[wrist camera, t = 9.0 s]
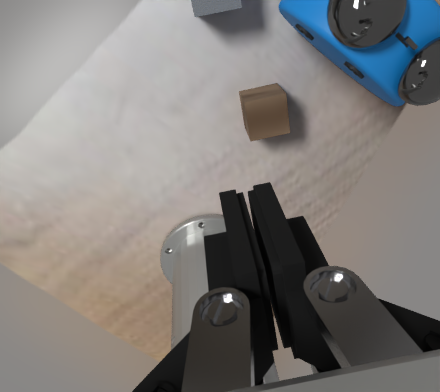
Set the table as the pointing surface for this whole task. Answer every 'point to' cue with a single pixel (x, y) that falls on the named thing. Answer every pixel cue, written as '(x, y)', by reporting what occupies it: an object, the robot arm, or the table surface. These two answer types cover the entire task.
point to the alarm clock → (376, 43)
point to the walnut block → (265, 111)
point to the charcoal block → (214, 6)
